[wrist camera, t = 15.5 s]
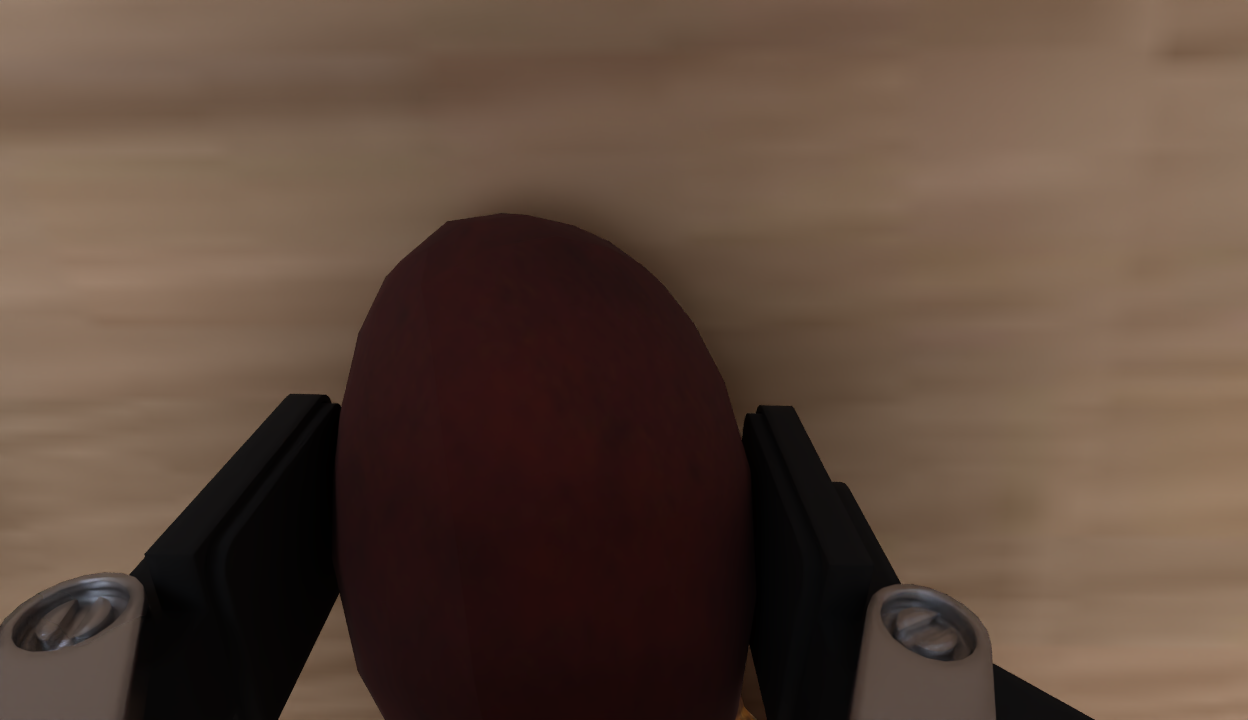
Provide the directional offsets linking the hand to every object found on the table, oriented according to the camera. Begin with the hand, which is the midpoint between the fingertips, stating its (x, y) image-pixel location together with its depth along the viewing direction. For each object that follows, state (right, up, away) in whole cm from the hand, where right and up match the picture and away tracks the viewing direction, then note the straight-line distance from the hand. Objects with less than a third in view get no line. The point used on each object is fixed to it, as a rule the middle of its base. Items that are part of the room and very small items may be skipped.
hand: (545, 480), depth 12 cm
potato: (+3, 0, +1) cm, 3 cm away
